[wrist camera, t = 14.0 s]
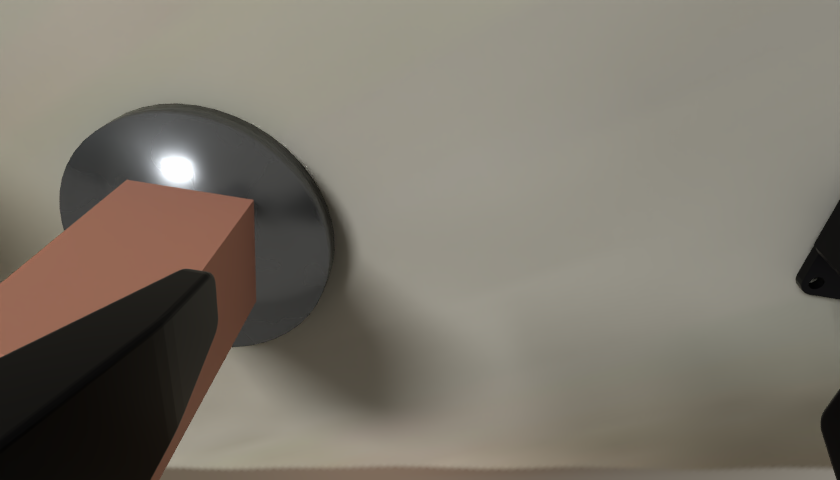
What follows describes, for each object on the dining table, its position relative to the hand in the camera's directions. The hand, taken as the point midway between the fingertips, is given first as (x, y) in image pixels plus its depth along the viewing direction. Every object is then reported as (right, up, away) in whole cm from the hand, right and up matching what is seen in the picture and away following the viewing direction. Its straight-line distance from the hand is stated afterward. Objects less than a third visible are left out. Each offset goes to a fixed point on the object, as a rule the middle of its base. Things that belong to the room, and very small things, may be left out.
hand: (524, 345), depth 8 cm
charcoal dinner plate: (-10, +2, +14) cm, 17 cm away
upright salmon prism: (-10, +1, +13) cm, 16 cm away
